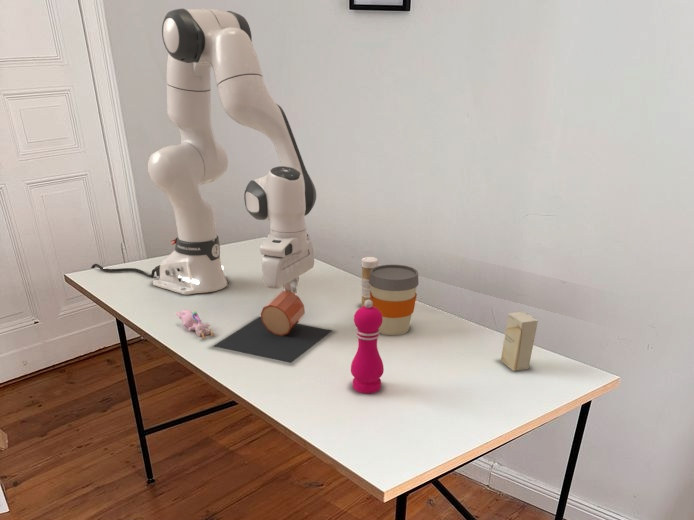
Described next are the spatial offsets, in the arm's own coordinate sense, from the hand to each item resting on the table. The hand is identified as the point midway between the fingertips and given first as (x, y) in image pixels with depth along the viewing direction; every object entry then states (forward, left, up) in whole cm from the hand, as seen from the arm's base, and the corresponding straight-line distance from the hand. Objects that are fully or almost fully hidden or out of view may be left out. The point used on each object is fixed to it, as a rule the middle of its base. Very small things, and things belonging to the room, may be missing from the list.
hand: (291, 295), depth 175 cm
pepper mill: (+32, -23, -9) cm, 41 cm away
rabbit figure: (-22, -13, -9) cm, 27 cm away
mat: (0, -9, -9) cm, 13 cm away
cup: (0, -4, -8) cm, 8 cm away
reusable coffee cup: (+24, +11, -9) cm, 28 cm away
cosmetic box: (+59, +3, -9) cm, 60 cm away
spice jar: (+12, +23, -9) cm, 27 cm away
